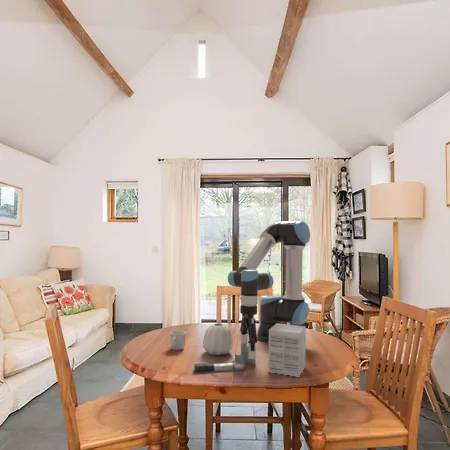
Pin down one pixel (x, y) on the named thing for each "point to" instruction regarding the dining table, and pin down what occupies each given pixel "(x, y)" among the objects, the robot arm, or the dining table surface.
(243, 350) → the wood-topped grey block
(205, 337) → the vase
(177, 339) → the cup
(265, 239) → the robot arm
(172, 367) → the dining table surface
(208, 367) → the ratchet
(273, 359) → the supplement box
